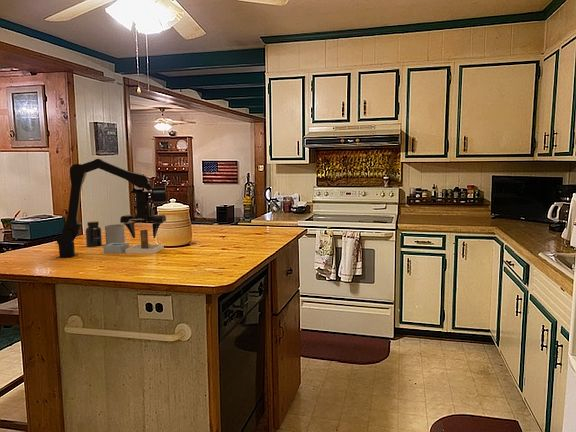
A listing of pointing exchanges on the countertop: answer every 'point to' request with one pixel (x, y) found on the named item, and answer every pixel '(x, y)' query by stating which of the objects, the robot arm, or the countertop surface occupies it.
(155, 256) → the countertop surface
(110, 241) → the cup
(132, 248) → the tray
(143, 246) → the dowel
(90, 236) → the supplement bottle
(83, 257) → the countertop surface
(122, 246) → the grey square peg base
